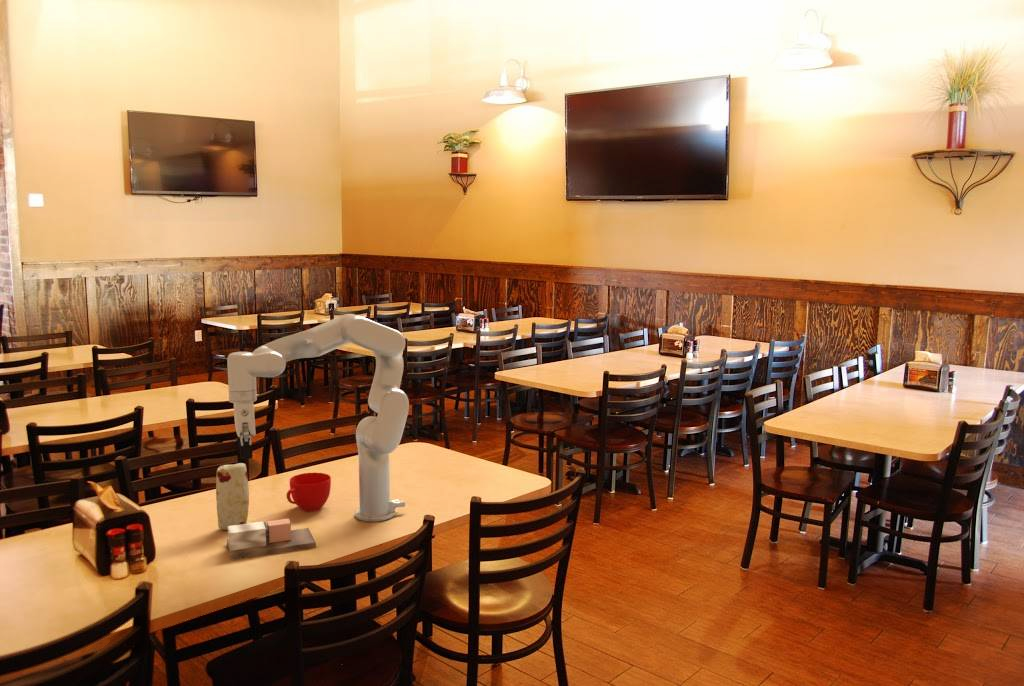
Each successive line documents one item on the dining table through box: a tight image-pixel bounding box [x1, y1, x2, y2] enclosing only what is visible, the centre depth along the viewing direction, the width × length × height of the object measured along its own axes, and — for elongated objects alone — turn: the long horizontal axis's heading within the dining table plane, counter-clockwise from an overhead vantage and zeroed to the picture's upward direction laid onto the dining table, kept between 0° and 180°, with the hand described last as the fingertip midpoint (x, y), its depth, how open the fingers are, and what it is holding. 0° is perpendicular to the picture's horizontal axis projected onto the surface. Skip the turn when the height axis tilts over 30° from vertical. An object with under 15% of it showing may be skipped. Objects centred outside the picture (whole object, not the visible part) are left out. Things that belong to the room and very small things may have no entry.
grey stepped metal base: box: [226, 521, 317, 561], centre depth 232 cm, size 23×12×6 cm, turn 114°
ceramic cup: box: [286, 472, 332, 512], centre depth 261 cm, size 13×17×10 cm
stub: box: [266, 518, 292, 543], centre depth 232 cm, size 6×4×5 cm, turn 114°
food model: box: [215, 462, 250, 531], centre depth 244 cm, size 10×7×20 cm
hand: (245, 454), depth 233 cm, fingers open, 9 cm apart
